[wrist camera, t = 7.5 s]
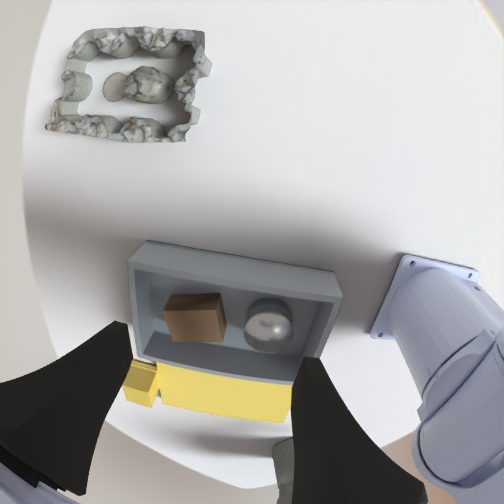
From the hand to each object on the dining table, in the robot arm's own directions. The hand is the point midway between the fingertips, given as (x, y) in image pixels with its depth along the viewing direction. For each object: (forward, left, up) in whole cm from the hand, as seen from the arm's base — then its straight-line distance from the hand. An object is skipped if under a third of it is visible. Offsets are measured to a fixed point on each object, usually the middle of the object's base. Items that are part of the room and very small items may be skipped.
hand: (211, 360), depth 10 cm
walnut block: (+2, +5, -10) cm, 11 cm away
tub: (0, +5, -10) cm, 11 cm away
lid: (+1, +16, -11) cm, 19 cm away
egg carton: (+9, -11, -11) cm, 18 cm away
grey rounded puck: (-3, +5, -10) cm, 11 cm away
